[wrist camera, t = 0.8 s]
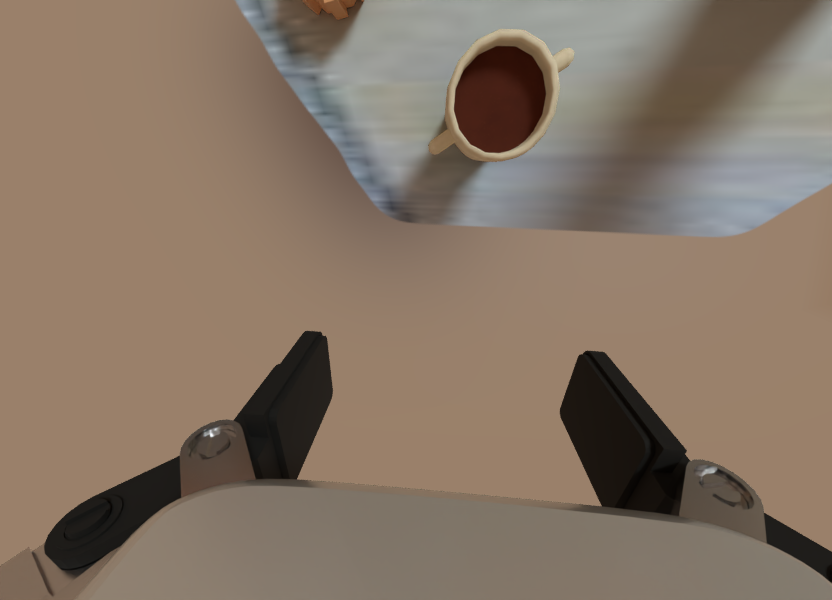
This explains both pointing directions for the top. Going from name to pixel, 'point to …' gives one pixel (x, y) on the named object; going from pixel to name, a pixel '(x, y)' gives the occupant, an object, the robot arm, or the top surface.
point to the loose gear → (331, 6)
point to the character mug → (502, 96)
